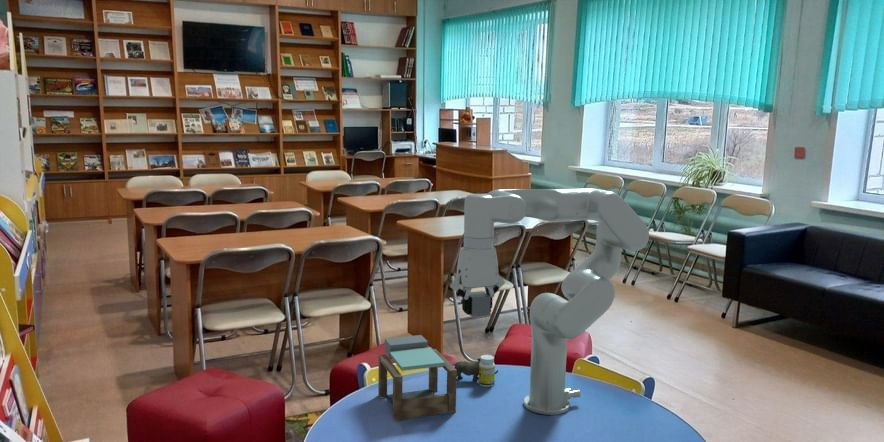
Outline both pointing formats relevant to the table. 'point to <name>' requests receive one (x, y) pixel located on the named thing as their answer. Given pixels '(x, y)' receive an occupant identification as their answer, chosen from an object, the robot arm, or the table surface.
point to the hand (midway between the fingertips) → (477, 311)
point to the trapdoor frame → (417, 392)
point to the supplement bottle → (486, 371)
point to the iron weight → (479, 304)
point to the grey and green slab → (412, 353)
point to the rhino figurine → (468, 369)
